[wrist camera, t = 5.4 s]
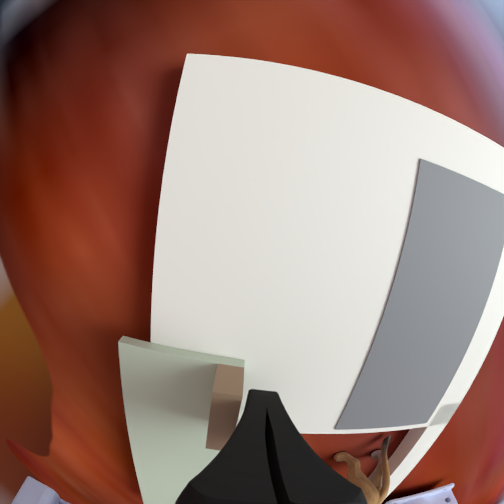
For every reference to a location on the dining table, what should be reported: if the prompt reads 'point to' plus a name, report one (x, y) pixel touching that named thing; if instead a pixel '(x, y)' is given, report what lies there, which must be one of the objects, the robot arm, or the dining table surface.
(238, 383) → the shutter
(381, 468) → the lion figurine
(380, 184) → the puzzle board
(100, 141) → the dining table surface
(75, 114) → the dining table surface
